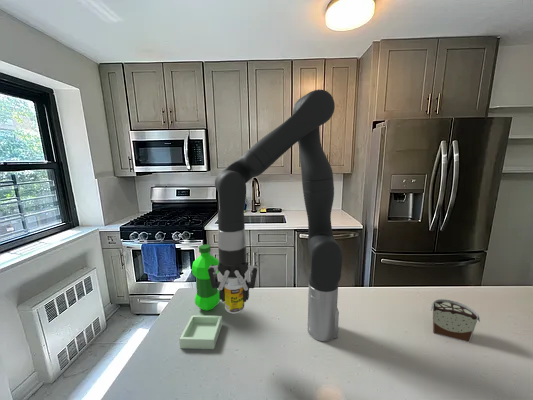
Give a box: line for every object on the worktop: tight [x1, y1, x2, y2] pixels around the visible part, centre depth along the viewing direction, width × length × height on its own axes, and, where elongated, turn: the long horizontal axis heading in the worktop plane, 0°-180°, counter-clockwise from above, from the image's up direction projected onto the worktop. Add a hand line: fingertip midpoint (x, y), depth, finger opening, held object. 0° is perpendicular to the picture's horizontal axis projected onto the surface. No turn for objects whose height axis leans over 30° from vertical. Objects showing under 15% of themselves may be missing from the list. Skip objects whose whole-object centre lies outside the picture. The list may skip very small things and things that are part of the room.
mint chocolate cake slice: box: [430, 298, 481, 344], centre depth 75 cm, size 12×6×10 cm, turn 65°
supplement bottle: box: [224, 277, 245, 314], centre depth 65 cm, size 6×6×10 cm
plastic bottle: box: [191, 243, 221, 312], centre depth 88 cm, size 10×10×25 cm
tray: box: [179, 314, 223, 350], centre depth 75 cm, size 11×11×3 cm
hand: (234, 300), depth 65 cm, fingers closed on supplement bottle, 5 cm apart
